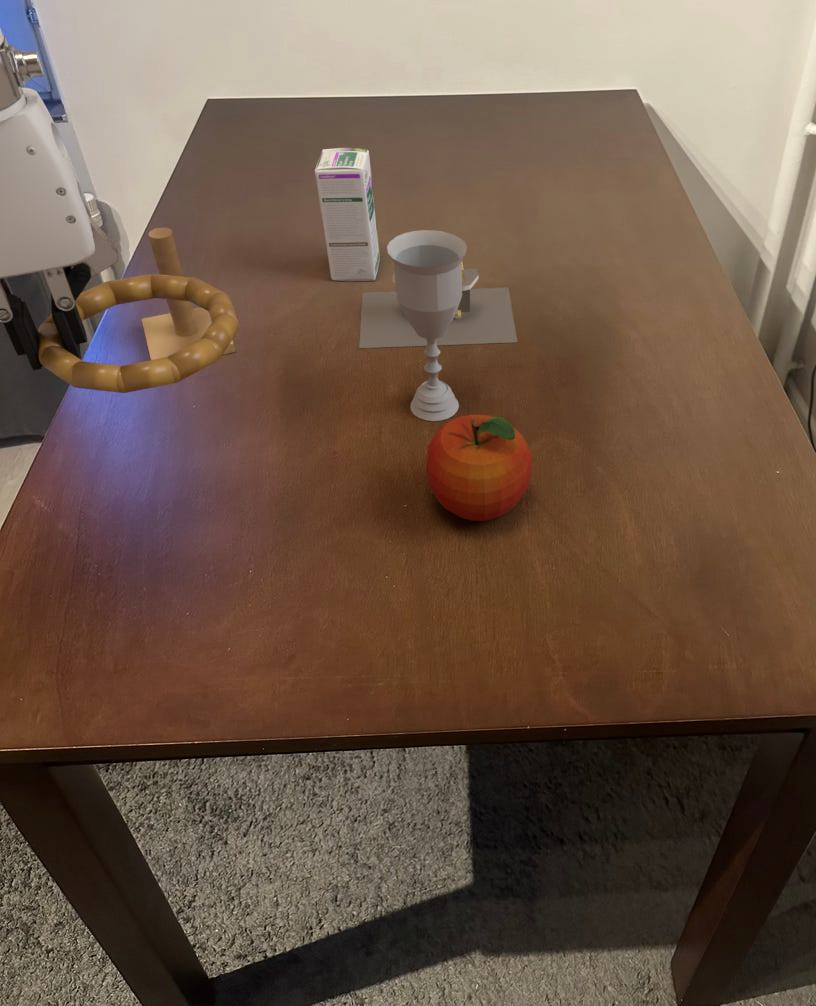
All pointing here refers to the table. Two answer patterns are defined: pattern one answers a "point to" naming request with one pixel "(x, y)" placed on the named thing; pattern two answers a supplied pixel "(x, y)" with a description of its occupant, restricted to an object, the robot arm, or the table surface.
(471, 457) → the fruit
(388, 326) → the platform
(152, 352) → the post
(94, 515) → the table surface
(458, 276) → the chalice
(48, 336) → the ring
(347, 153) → the syrup box
